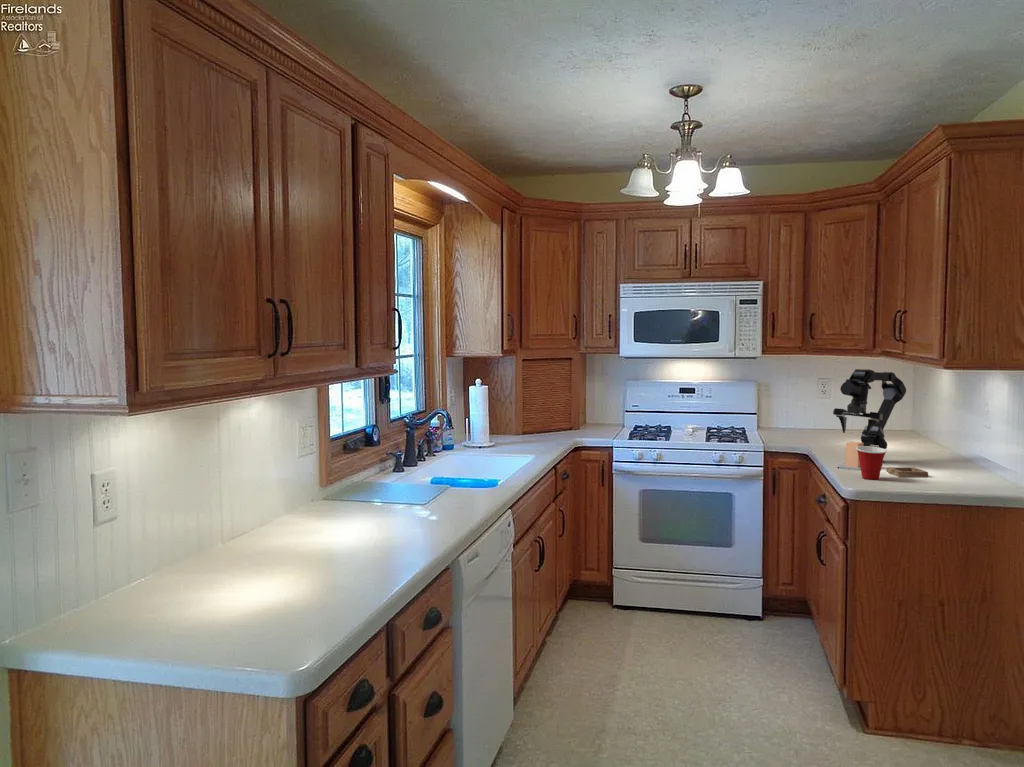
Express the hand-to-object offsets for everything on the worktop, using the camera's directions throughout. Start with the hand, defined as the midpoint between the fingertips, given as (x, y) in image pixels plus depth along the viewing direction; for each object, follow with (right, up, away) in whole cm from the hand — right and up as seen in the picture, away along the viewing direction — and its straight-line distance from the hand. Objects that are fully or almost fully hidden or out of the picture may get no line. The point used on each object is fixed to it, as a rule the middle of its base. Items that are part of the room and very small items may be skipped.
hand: (855, 434), depth 317 cm
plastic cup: (-7, -16, -29) cm, 34 cm away
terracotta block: (-2, -13, -4) cm, 14 cm away
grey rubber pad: (-2, -14, -4) cm, 15 cm away
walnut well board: (+10, -15, -22) cm, 28 cm away
